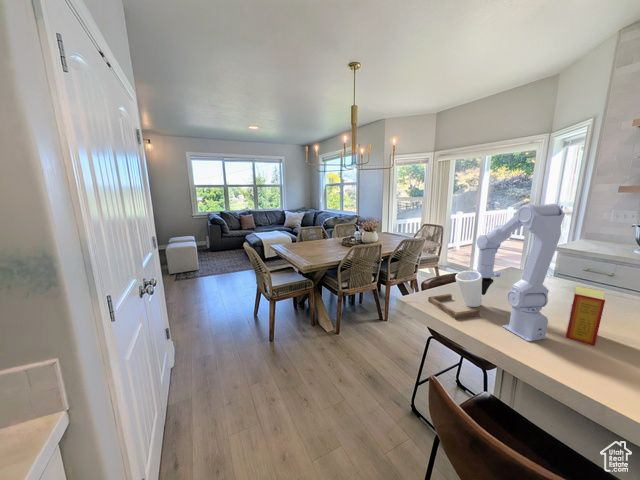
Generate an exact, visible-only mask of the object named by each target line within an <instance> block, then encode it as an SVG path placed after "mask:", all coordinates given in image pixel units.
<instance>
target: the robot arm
mask: <svg viewBox="0 0 640 480" xmlns="http://www.w3.org/2000/svg"><path fill="white" fill-rule="evenodd" d="M565 216H566V213H565V212H564V210H563V209H562V208H561V206H560V205H558V204H557V203H549V204H528V203H527V204H524V205H522V206H520V208H518V209H516V211H515V214H514V216H512V217H511V218H510V219H509V220H508V221H506V222H505V224H503V225H495V226H494V227H493V229H492V230H491V231H489V232H488V233H487V234H483V235H482V234H481V235H479V236H478V237H477V238H476V245H477V248H478V259H477V265H476V267H477V268H476V271H477V272H479V273H480V274H481V275H482V296H486V293H487V292H488V289H489V287H490V286H491V285H492V284H493V283H494V278H501V272H499V271H494V269H495V260H496V254H497V253H498V250H499V248H500V247H501V245H502V243H504V241H507V240H508V239H510V238H511V236H512V233H513V232H515V231H516V230H518V229H520V228H521V227H523V226H524V228H526V229H527V231H529V232H530V233H531V234H533V235H534V240H533V242H532V246H531V249H530V252H529V255H528V258H527V261H526V264H525V268H524V270H523V274H522V276H521V279H519V280H518V281H517V282H515V283H513V284H512V286H511V288H510V290H508V291H507V295H506V299H507V301H508V303H509V305H510V306H511V309H510V311H511V312H510V318H509V323H508V324H504V325H502V328H504V329H505V330H507V331H509V332H511V333H513V334H514V335H516V336H518V337H520V338H522V339H523V340H525V341H527V342H532V341H534V342H535V341H538V340H543V339H547V338H548V337H547V335H546V334H547V330H548V325H549V319H548V317H547V316H546V315H545V314H542V313H541V312H540V311H542V310H543V309H542V308H545V307H546V306H547V304H548V302H549V298H548V295H549V291H550V290H549V289H548V288H547V286H545V285H544V282H545V279H546V276H547V273H548V271H549V269H550V265H551V262H552V260H553V259H554V255H555V252H556V249H557V247H558V245H559V242H560V239H561V235H562V224H563V221H564V218H565ZM477 278H479V276H478V275H477V274H476V275H475V274H469V275H468V279H469V280H473V279H477Z"/></svg>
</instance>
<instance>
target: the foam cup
mask: <svg viewBox="0 0 640 480" xmlns="http://www.w3.org/2000/svg"><path fill="white" fill-rule="evenodd" d="M469 274H475V275H476V274H477V275H478V276H479V278H477V279H473V280H469V279H468V275H469ZM454 277H455V281H456V284H457V286H458V288H459V291H460V294H461V298H462V301H463V303H464V305H465V306H467V307H469V308H470V307H471V308H476V307H479V306H481V305H482V301H483V300H482V299H483V298H482V297H483V295H482V275H481V274H480V273H479V272H477V270H475V271H474V270H464V271H459V272H457V273H456V275H455V276H454Z"/></svg>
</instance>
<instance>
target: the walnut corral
mask: <svg viewBox="0 0 640 480" xmlns="http://www.w3.org/2000/svg"><path fill="white" fill-rule="evenodd" d="M427 298H428V302H429V303H430V304H431V305H433V306H435V307H436V308H438V309H439V310H441V311H442V312H443V313H445V314H447V315H448V316H450V317H451V318H452V319H454V320H459V319H465V318H471V317H477V316H480V313H481V312H480V311H481V310H479V309H470V310H463V311H457V312H456V311H454V310H453V309H451V308H449V306H446V305H445V304H443V303H442V302H441V301H448V300H453V299H452V298H453V295H452V294H451V293H449V294H442V295H441V294H440V295H433V296H428V297H427Z"/></svg>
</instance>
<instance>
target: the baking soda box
mask: <svg viewBox="0 0 640 480" xmlns="http://www.w3.org/2000/svg"><path fill="white" fill-rule="evenodd" d="M605 304H606V297H605V292H604V290H600V289H595V288H590V287H585V286H579V285H575V286H574V291H573V296H572V301H571V307H570V311H569V316H568V321H567V327H566V333H565V335H566V336H565V339H569V340H572V341H575V342H579V343H583V344H585V345H589V346H593V347H595V346H596V341H597V339H598V333H599V328H600V325H601V320H602V316H603V312H604V308H605Z"/></svg>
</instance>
